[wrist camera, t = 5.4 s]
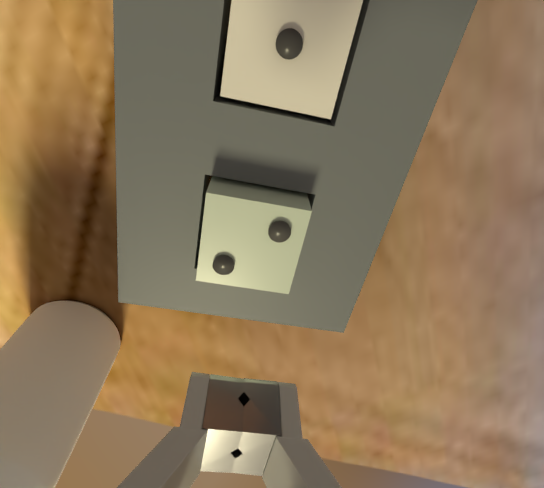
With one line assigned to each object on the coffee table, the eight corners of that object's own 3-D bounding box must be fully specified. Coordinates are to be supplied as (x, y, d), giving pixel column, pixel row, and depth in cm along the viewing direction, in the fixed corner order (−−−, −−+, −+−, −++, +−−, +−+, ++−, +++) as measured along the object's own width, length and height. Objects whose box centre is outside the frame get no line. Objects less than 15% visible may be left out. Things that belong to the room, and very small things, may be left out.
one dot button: (350, -6, 16) (368, -16, 13) (321, 108, 18) (331, 120, 16) (241, -34, 15) (237, -51, 13) (226, 88, 18) (219, 96, 15)
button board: (614, -459, 11) (726, -619, 8) (335, 302, 25) (343, 332, 23) (144, -674, 9) (97, -964, 6) (134, 273, 24) (118, 302, 21)
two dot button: (305, 188, 19) (312, 213, 16) (285, 263, 22) (288, 296, 19) (213, 171, 19) (205, 194, 16) (203, 251, 21) (195, 282, 18)
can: (120, 368, 28) (36, 561, 18) (33, 354, 27) (-111, 550, 17) (125, 306, 25) (27, 495, 14) (28, 288, 24) (-153, 477, 14)
